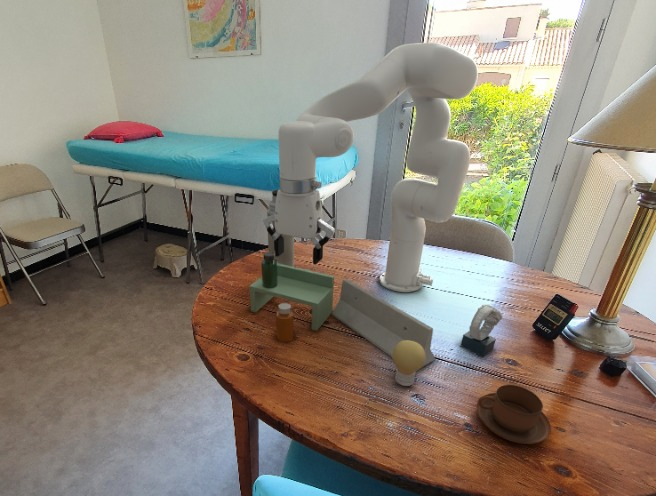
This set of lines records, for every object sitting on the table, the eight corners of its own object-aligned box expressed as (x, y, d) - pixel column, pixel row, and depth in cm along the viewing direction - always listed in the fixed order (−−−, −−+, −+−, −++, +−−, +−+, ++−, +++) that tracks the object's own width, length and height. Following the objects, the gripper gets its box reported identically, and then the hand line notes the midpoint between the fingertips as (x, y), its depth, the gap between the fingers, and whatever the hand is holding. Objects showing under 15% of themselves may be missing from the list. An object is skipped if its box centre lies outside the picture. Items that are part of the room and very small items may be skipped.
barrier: (331, 315, 109) (333, 282, 104) (351, 307, 112) (354, 275, 107) (413, 372, 88) (420, 334, 83) (434, 360, 91) (442, 323, 86)
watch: (497, 346, 95) (509, 307, 90) (478, 360, 91) (490, 319, 86) (474, 335, 99) (485, 297, 94) (455, 348, 95) (465, 308, 90)
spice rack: (332, 312, 110) (334, 275, 105) (317, 330, 103) (318, 292, 97) (268, 295, 119) (267, 260, 114) (250, 311, 111) (248, 275, 106)
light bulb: (421, 376, 87) (429, 338, 82) (417, 396, 82) (425, 357, 77) (391, 368, 89) (397, 331, 84) (385, 387, 84) (391, 348, 79)
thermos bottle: (270, 272, 132) (268, 187, 119) (294, 272, 132) (295, 187, 118) (267, 283, 125) (265, 194, 112) (293, 284, 125) (293, 195, 111)
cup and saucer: (493, 450, 70) (502, 425, 67) (464, 400, 80) (470, 376, 77) (562, 449, 70) (574, 424, 67) (524, 399, 80) (533, 375, 77)
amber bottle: (296, 334, 101) (296, 304, 97) (288, 343, 98) (288, 312, 94) (281, 330, 103) (281, 300, 99) (273, 338, 100) (272, 307, 96)
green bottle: (280, 283, 109) (280, 252, 104) (272, 289, 105) (272, 258, 101) (267, 279, 110) (266, 249, 106) (259, 286, 107) (257, 255, 103)
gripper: (342, 184, 84) (339, 258, 92) (271, 176, 92) (273, 246, 100) (328, 194, 78) (326, 272, 87) (253, 185, 86) (257, 257, 95)
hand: (297, 258), depth 93 cm, fingers open, 9 cm apart
